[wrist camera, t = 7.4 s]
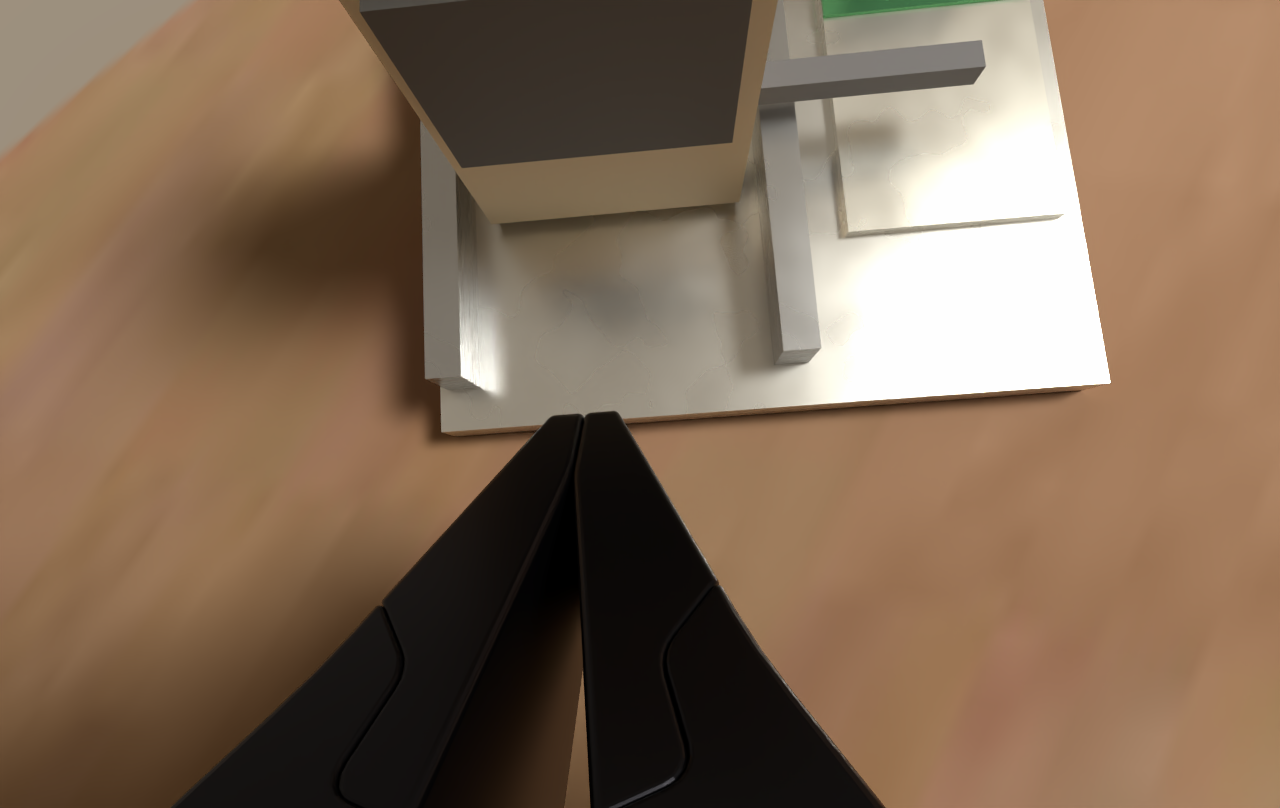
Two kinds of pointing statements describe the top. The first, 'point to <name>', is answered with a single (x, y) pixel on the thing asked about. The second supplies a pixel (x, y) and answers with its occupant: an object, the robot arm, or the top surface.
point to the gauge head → (613, 94)
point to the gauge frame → (793, 254)
